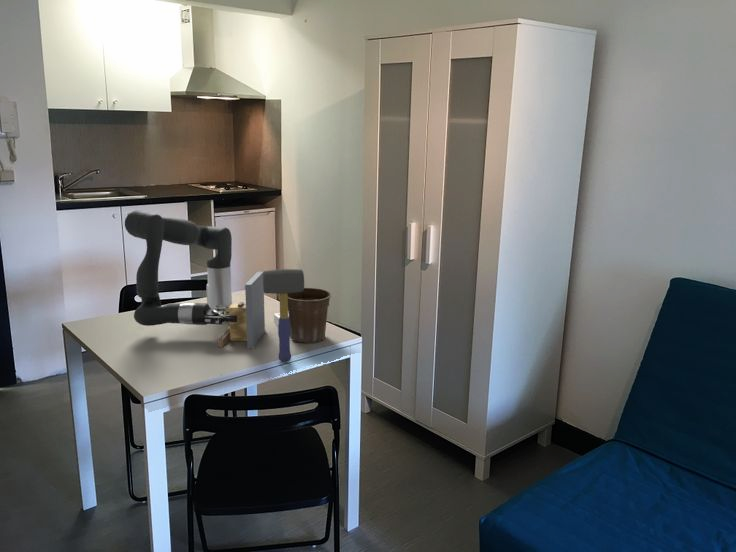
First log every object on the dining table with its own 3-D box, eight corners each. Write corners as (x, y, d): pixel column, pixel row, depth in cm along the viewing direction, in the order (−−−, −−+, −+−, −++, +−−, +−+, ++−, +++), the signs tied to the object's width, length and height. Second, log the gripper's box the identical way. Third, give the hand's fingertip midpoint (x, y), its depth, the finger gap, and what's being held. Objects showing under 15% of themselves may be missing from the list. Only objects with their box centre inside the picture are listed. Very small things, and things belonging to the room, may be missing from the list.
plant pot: (340, 338, 212) (340, 294, 208) (302, 349, 201) (302, 302, 197) (313, 327, 223) (312, 285, 220) (276, 336, 213) (275, 292, 209)
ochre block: (230, 340, 208) (228, 305, 205) (234, 335, 213) (232, 301, 210) (250, 341, 208) (248, 305, 205) (253, 336, 213) (252, 301, 210)
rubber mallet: (266, 367, 185) (263, 273, 178) (264, 358, 192) (261, 267, 185) (306, 364, 188) (305, 271, 181) (302, 355, 195) (301, 265, 188)
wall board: (218, 347, 202) (215, 283, 197) (232, 329, 219) (230, 271, 214) (253, 348, 201) (251, 284, 196) (264, 330, 219) (263, 271, 213)
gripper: (186, 309, 201) (234, 310, 201) (200, 297, 215) (244, 299, 214) (187, 330, 203) (235, 332, 202) (201, 317, 217) (245, 319, 216)
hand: (240, 315), depth 208 cm, fingers open, 8 cm apart
